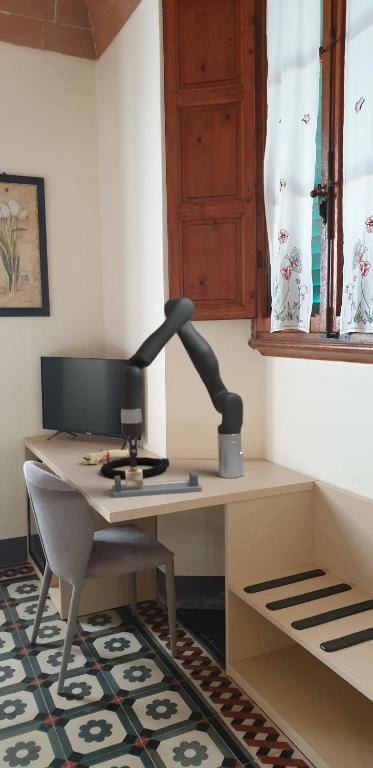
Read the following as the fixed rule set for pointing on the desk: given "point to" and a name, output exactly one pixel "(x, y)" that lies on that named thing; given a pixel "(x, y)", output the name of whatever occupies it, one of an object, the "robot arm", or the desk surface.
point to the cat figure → (104, 455)
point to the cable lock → (158, 464)
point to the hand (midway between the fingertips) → (132, 464)
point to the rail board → (157, 487)
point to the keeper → (134, 477)
